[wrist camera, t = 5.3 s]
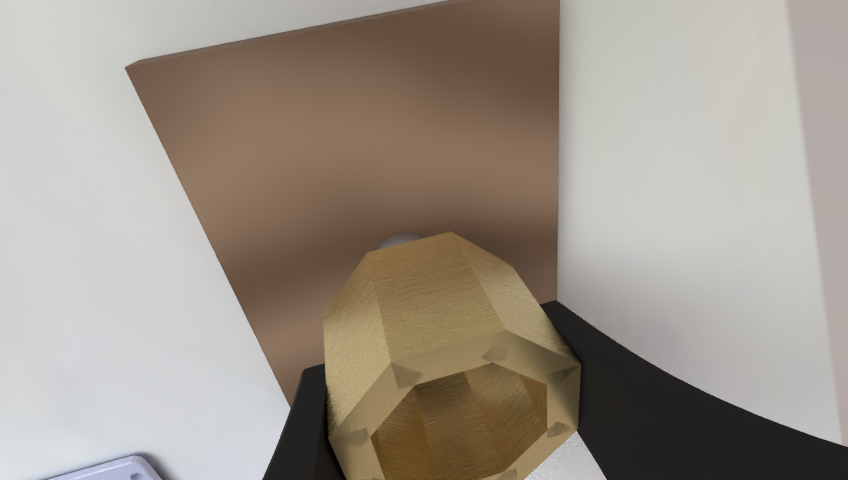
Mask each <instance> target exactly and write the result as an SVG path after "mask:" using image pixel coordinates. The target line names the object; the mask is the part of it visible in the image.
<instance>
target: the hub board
mask: <svg viewBox="0 0 848 480" xmlns="http://www.w3.org/2000/svg"><path fill="white" fill-rule="evenodd" d="M559 14H560V0H448V1H443V2H437V3H432V4H427V5H422V6H417V7H412V8H406V9H401V10H396V11H391V12H386V13H381V14H375V15H370V16H365V17H360V18H355V19H349V20H344V21H339V22H334V23H329V24H324V25H318V26H313V27H308V28H303V29H298V30H293V31H287V32H282V33H277V34H272V35H267V36H262V37H256V38H251V39H246V40H241V41H236V42H230V43H225V44H220V45H215V46H210V47H205V48H199V49H194V50H189V51H184V52H179V53H174V54H168V55H163V56H158V57H153V58H148V59H143V60H139V61H137V62H135V63H133V64H130V65H128V66H126V67H125V69H126V71H127V73H128V75H129V78H130V80H131V82H132V84H133V86H134V88H135V90H136V92H137V94H138V96H139V98H140V100H141V102H142V104H143V106H144V108H145V110H146V112H147V114H148V117H149V119H150V121H151V123H152V125H153V127H154V129H155V131H156V133H157V135H158V137H159V139H160V141H161V143H162V145H163V147H164V149H165V151H166V153H167V155H168V158H169V160H170V162H171V164H172V166H173V168H174V170H175V172H176V174H177V176H178V178H179V180H180V182H181V184H182V186H183V188H184V190H185V192H186V194H187V196H188V199H189V201H190V203H191V205H192V207H193V209H194V211H195V213H196V215H197V217H198V219H199V221H200V223H201V225H202V227H203V229H204V231H205V233H206V235H207V238H208V240H209V242H210V244H211V246H212V248H213V250H214V252H215V254H216V256H217V258H218V260H219V262H220V264H221V266H222V268H223V270H224V272H225V274H226V276H227V279H228V281H229V283H230V285H231V287H232V289H233V291H234V293H235V295H236V297H237V299H238V301H239V303H240V305H241V307H242V309H243V311H244V313H245V315H246V317H247V320H248V322H249V324H250V326H251V328H252V330H253V332H254V334H255V336H256V338H257V340H258V342H259V344H260V346H261V348H262V350H263V352H264V354H265V356H266V358H267V361H268V363H269V365H270V367H271V369H272V371H273V373H274V375H275V377H276V379H277V381H278V383H279V385H280V387H281V389H282V391H283V393H284V395H285V397H286V400H287V402H288V404H289V406H290V408H291V406H292V403H293V400H294V397H295V394H296V391H297V388H298V384H299V381H300V377H301V373H302V372H303V370H304V369H306V368H309V367H313V366H317V365H320V364H324V363H325V351H324V328H323V314H324V313H325V311H326V310H327V308H328V307H329V306H330V304H331V303H332V301H333V300H334V299H335V297H336V296H337V294H338V293H339V292H340V290H341V289H342V287H343V286H344V285H345V283H346V282H347V280H348V279H349V277H350V276H351V275H352V273H353V272H354V270H355V269H356V268H357V266H358V265H359V263H360V262H361V261H362V259H363V258H364V256H365V255H366V254H367V252H371V251H375V250H379V249H383V248H387V247H391V246H395V245H399V244H403V243H407V242H411V241H415V240H419V239H423V238H427V237H431V236H435V235H439V234H443V233H447V232H453V233H455V234H457V235H458V236H460V237H462V238H464V239H466V240H467V241H469V242H471V243H473V244H474V245H476V246H478V247H480V248H482V249H483V250H485V251H487V252H489V253H491V254H492V255H494V256H496V257H498V258H500V259H501V260H503V261H505V262H507V263H508V264H510V265H512V267H513V268H514V270H515V271H516V273H517V274H518V275H519V277H520V278H521V280H522V281H523V282H524V284H525V285H526V287H527V288H528V290H529V291H530V292H531V294H532V295H533V297H534V298H535V300H536V301H537V302H538V304H543V303H546V302H550V301H554V300H556V301H557V239H558V126H559Z"/></svg>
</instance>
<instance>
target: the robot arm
mask: <svg viewBox="0 0 848 480" xmlns="http://www.w3.org/2000/svg"><path fill="white" fill-rule="evenodd" d="M539 305H540V307H541V308H542V309H543V311H544V312H545V314H546V315H547V317H548V318H549V319H550V321H551V323H552V324H553V325H554V327H555V328H556V329H557V331H558V332H559V334H560V335H561V336H562V338H563V339H564V341H565V342H566V344H567V345H568V346H569V348H570V349H571V351H572V352H573V354H574V355H575V356H576V358H577V359H578V361H579V362H580V363H581V377H580V396H579V416H578V429H577V432H578V434H579V435H580V437H581V438H582V440H583V441H584V443H585V445H586V446H587V448H588V449H589V451H590V453H591V454H592V456H593V457H594V459H595V460H596V462H597V464H598V465H599V467H600V469H601V470H602V472H603V474H604V476H605V477H606V479H607V480H848V447H846V446H843V445H839V444H836V443H833V442H830V441H827V440H824V439H820V438H818V437H815V436H812V435H809V434H806V433H804V432H801V431H798V430H795V429H793V428H790V427H787V426H784V425H782V424H779V423H776V422H774V421H771V420H769V419H766V418H764V417H761V416H758V415H756V414H754V413H751V412H749V411H747V410H744V409H742V408H740V407H737V406H735V405H733V404H730V403H728V402H726V401H723V400H721V399H719V398H717V397H715V396H712V395H710V394H708V393H706V392H704V391H702V390H700V389H698V388H696V387H694V386H692V385H690V384H688V383H686V382H684V381H682V380H680V379H678V378H676V377H674V376H672V375H671V374H669V373H667V372H665V371H663V370H661V369H660V368H658V367H656V366H655V365H653V364H651V363H649V362H648V361H646V360H644V359H643V358H641V357H639V356H638V355H636V354H634V353H633V352H631V351H630V350H628V349H627V348H625V347H623V346H622V345H620V344H619V343H617V342H616V341H614V340H613V339H611V338H610V337H608V336H607V335H605V334H604V333H602V332H601V331H599V330H598V329H596V328H595V327H593V326H592V325H590V324H589V323H588V322H586V321H585V320H583V319H582V318H580V317H579V316H578V315H576V314H575V313H573V312H572V311H571V310H569V309H568V308H566V307H565V306H564V305H562V304H561V303H559V302H558V301H556V300H554V301H550V302H546V303H543V304H539ZM48 480H162V479H161V478H160V476H159V475H158V474H157V473H156V472H155V470H154V469H153V468H152V467H151V466H150V465H149V463H148V462H147V461H146V460H145V459H144V458H143V457H140V456H129V457H125V458H122V459H118V460H115V461H111V462H108V463H104V464H101V465H97V466H94V467H90V468H86V469H83V470H79V471H76V472H72V473H69V474H65V475H62V476H58V477H55V478H51V479H48ZM262 480H346V477H345V475H344V473H343V471H342V468H341V466H340V464H339V462H338V459H337V457H336V455H335V453H334V450H333V448H332V446H331V444H330V441H329V439H328V419H327V396H326V374H325V363H324V364H320V365H317V366H313V367H309V368H306V369H304V370H303V372H302V373H301V377H300V381H299V384H298V388H297V391H296V394H295V397H294V400H293V403H292V406H291V409H290V412H289V415H288V418H287V421H286V423H285V426H284V429H283V431H282V434H281V436H280V439H279V442H278V444H277V447H276V449H275V452H274V454H273V456H272V459H271V461H270V463H269V465H268V468H267V470H266V472H265V475H264V477H263V479H262Z"/></svg>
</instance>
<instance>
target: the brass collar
mask: <svg viewBox="0 0 848 480" xmlns="http://www.w3.org/2000/svg"><path fill="white" fill-rule="evenodd" d="M323 328H324V351H325V374H326V396H327V419H328V439H329V441H330V444H331V446H332V448H333V450H334V453H335V455H336V457H337V459H338V462H339V464H340V466H341V468H342V471H343V473H344V475H345V477H346V480H524V479H525V478H526V477H527V476H528V475H529V474H530V473H531V472H532V471H533V470H535V469H536V468H537V467H538V466H539V465H540V464H541V463H542V462H543V461H544V460H545V459H546V458H547V457H548V456H549V455H551V454H552V453H553V452H554V451H555V450H556V449H557V448H558V447H559V446H560V445H561V444H562V443H563V442H564V441H565V440H567V439H568V438H569V437H570V436H571V435H572V434H573V433H574V432H575V431H576V430H577V429H578V416H579V396H580V377H581V363H580V362H579V361H578V359H577V358H576V356H575V355H574V354H573V352H572V351H571V349H570V348H569V346H568V345H567V344H566V342H565V341H564V339H563V338H562V336H561V335H560V334H559V332H558V331H557V329H556V328H555V327H554V325H553V324H552V323H551V321H550V319H549V318H548V317H547V315H546V314H545V312H544V311H543V309H542V308H541V307H540V305H539V304H538V302H537V301H536V300H535V298H534V297H533V295H532V294H531V292H530V291H529V290H528V288H527V287H526V285H525V284H524V282H523V281H522V280H521V278H520V277H519V275H518V274H517V273H516V271H515V270H514V268H513V267H512V265H510V264H508V263H507V262H505V261H503V260H501V259H500V258H498V257H496V256H494V255H492V254H491V253H489V252H487V251H485V250H483V249H482V248H480V247H478V246H476V245H474V244H473V243H471V242H469V241H467V240H466V239H464V238H462V237H460V236H458V235H457V234H455V233H453V232H447V233H443V234H439V235H435V236H431V237H427V238H423V239H419V240H415V241H411V242H407V243H403V244H399V245H395V246H391V247H387V248H383V249H379V250H375V251H371V252H367V254H366V255H365V256H364V258H363V259H362V261H361V262H360V263H359V265H358V266H357V268H356V269H355V270H354V272H353V273H352V275H351V276H350V277H349V279H348V280H347V282H346V283H345V285H344V286H343V287H342V289H341V290H340V292H339V293H338V294H337V296H336V297H335V299H334V300H333V301H332V303H331V304H330V306H329V307H328V308H327V310H326V311H325V313H324V314H323Z"/></svg>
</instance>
